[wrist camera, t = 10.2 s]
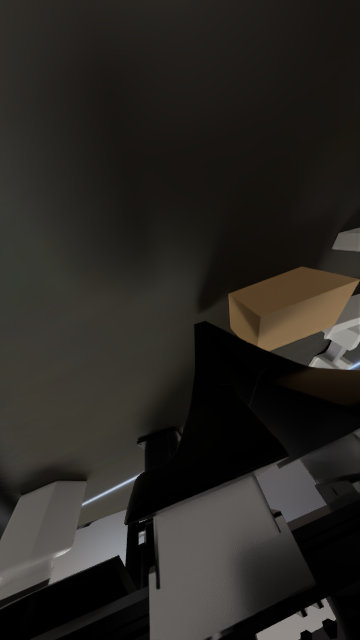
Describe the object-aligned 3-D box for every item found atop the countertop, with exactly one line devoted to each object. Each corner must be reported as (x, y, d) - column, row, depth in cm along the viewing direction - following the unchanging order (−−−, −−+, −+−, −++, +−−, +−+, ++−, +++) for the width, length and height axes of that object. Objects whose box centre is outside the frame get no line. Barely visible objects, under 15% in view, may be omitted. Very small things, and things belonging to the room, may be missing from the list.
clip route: (323, 363, 21) (341, 376, 19) (298, 372, 21) (314, 386, 19) (373, 296, 14) (410, 307, 12) (338, 308, 14) (369, 320, 12)
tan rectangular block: (289, 304, 12) (333, 325, 9) (229, 326, 12) (256, 356, 9) (299, 266, 10) (360, 279, 7) (227, 292, 10) (260, 317, 7)
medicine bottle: (20, 495, 23) (-73, 693, 13) (57, 479, 23) (-8, 666, 13) (56, 493, 27) (7, 642, 17) (88, 480, 27) (56, 621, 17)
